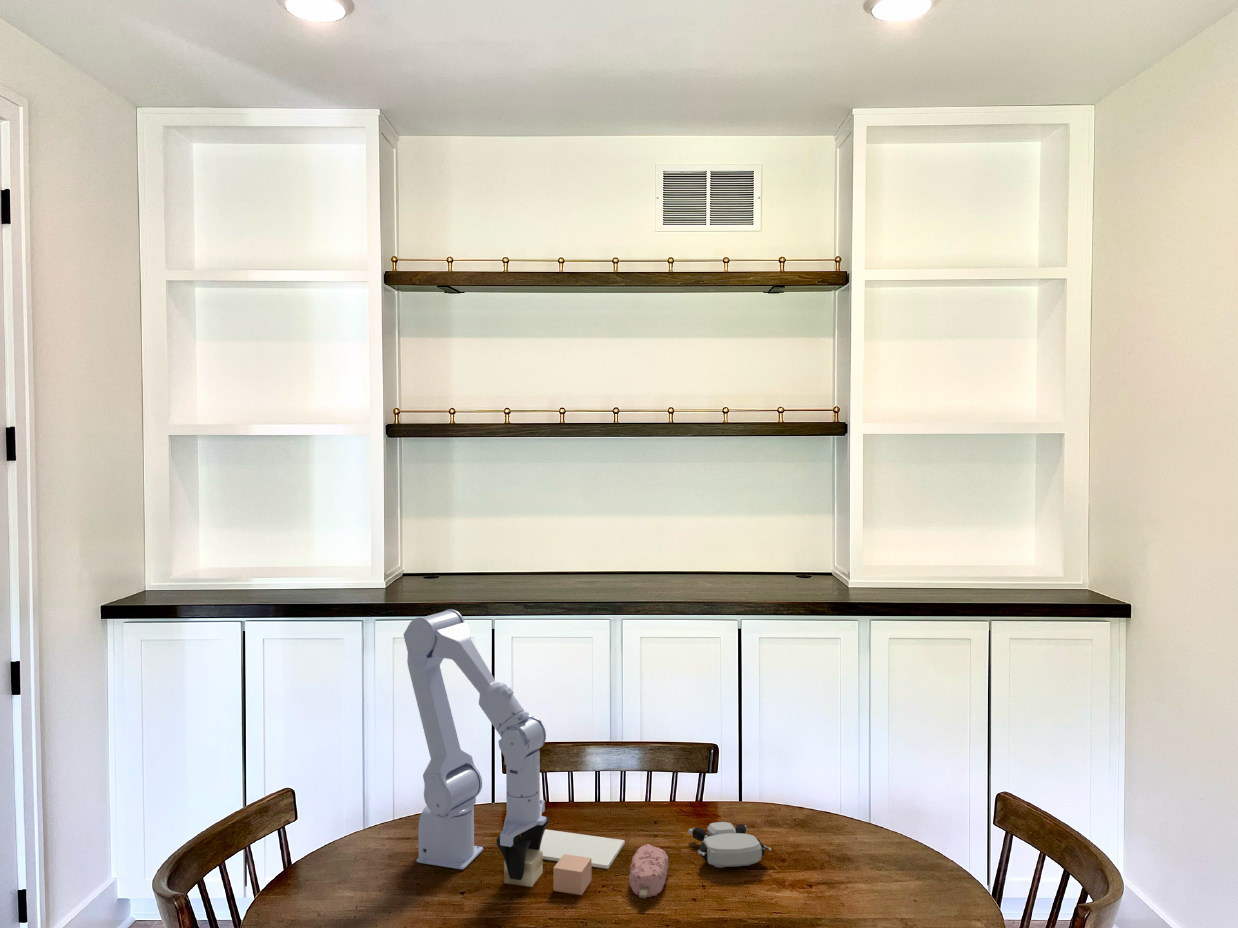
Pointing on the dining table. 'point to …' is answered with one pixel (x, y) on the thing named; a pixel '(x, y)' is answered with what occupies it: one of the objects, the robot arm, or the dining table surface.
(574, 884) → the terracotta brick
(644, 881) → the ice cream bar
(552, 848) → the mat
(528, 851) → the ash brick
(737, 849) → the robot toy
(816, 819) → the dining table surface
